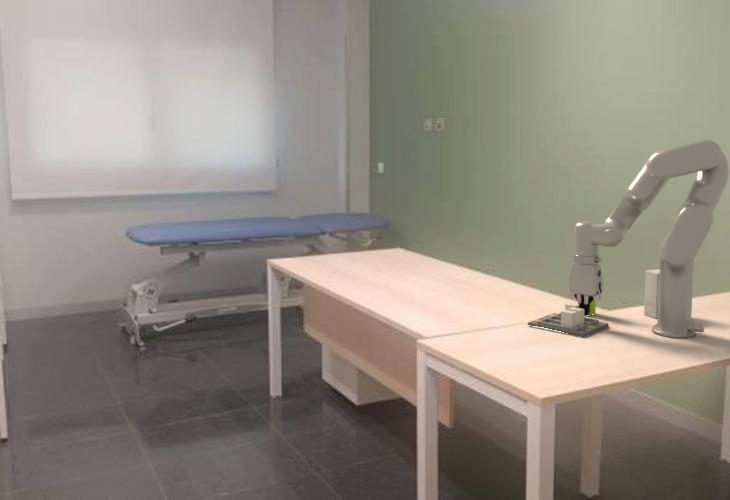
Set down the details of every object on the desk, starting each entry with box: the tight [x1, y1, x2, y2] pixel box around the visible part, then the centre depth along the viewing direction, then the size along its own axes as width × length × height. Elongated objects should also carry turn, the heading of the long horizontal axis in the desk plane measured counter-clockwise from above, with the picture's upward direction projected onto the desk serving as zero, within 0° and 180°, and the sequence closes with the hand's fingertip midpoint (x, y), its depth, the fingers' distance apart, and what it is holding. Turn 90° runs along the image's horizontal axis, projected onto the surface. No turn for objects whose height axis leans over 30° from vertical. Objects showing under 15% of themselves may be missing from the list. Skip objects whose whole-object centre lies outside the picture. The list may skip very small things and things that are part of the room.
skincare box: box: [643, 269, 660, 319], centre depth 232 cm, size 8×7×16 cm
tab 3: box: [560, 309, 577, 328], centre depth 218 cm, size 4×3×5 cm
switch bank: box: [527, 312, 610, 338], centre depth 223 cm, size 20×16×2 cm
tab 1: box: [564, 302, 579, 310], centre depth 226 cm, size 4×3×5 cm
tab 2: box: [568, 307, 585, 325], centre depth 221 cm, size 4×3×5 cm
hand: (584, 314), depth 223 cm, fingers closed
